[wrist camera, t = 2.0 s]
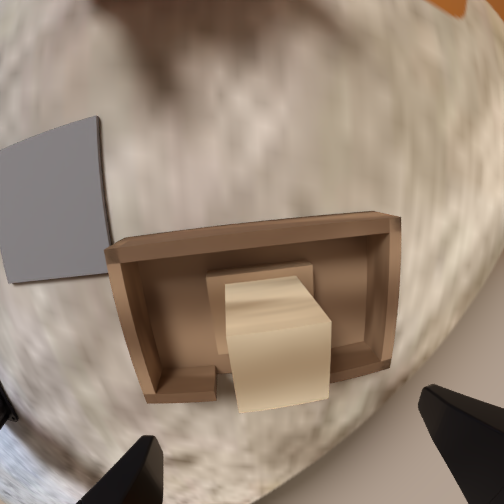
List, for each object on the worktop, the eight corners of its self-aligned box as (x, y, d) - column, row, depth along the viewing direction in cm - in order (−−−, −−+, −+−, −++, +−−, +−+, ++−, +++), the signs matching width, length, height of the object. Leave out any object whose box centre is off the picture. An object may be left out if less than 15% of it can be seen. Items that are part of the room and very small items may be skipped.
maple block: (298, 337, 18) (328, 398, 12) (233, 346, 17) (238, 413, 11) (296, 275, 17) (331, 321, 11) (225, 284, 16) (226, 336, 11)
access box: (369, 344, 21) (389, 367, 17) (156, 373, 20) (147, 403, 16) (372, 211, 18) (400, 217, 15) (124, 237, 17) (103, 249, 14)
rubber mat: (116, 270, 18) (114, 272, 17) (11, 281, 17) (8, 283, 17) (98, 116, 15) (96, 115, 15) (-7, 154, 15) (-10, 154, 14)
